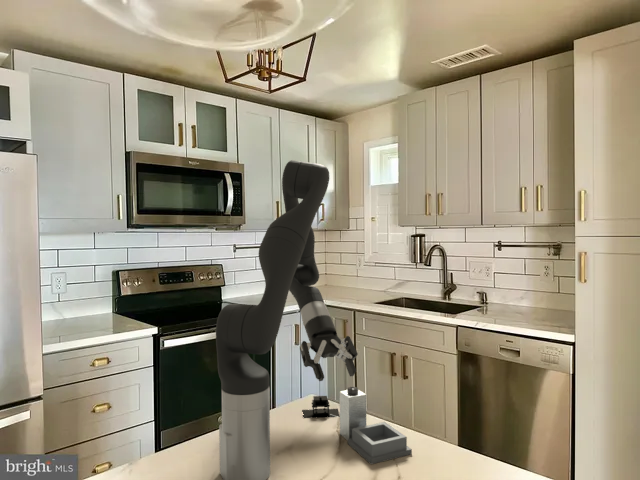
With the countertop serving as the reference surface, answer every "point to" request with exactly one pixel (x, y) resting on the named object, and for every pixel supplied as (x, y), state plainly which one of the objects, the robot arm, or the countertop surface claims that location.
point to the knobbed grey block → (352, 411)
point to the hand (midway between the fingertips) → (337, 377)
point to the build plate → (320, 413)
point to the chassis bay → (379, 442)
